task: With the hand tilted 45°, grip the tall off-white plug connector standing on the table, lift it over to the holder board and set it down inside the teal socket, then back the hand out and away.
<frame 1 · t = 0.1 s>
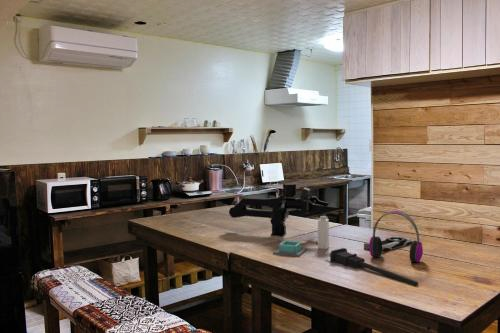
hand: (326, 205, 210), 17 cm above the table, tool horizontal, fingers open, 9 cm apart
holder board: (290, 251, 188), on the table
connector: (323, 247, 194), on the table
headphones: (395, 260, 174), on the table
graphics card: (389, 248, 194), on the table
electrical plug: (368, 271, 161), on the table
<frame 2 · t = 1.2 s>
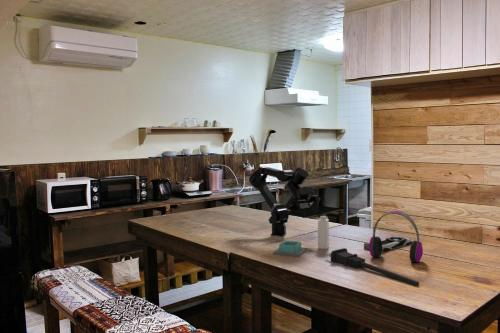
hand: (311, 216, 200), 13 cm above the table, tool tilted 45°, fingers open, 9 cm apart
nothing on the table moved.
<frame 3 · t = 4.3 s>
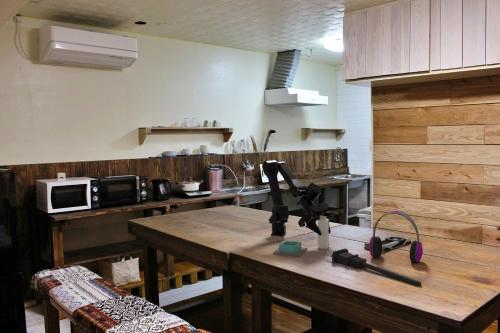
hand: (325, 233, 193), 7 cm above the table, tool tilted 45°, fingers closed on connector, 5 cm apart
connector: (323, 247, 194), on the table, touching gripper
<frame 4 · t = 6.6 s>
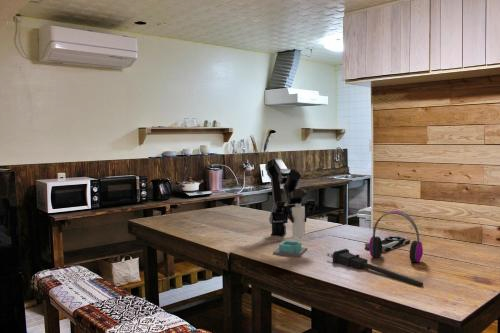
hand: (299, 222, 187), 13 cm above the table, tool tilted 45°, fingers closed on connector, 5 cm apart
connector: (298, 236, 188), point 7 cm above the table, touching gripper
when the fingers open (8 cm above the table, at t = 9.0 s): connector drops 1 cm, resting on holder board.
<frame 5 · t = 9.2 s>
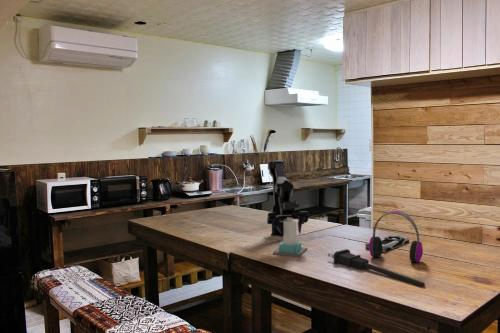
hand: (290, 233, 186), 9 cm above the table, tool tilted 45°, fingers open, 8 cm apart
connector: (290, 249, 188), point 1 cm above the table, touching holder board
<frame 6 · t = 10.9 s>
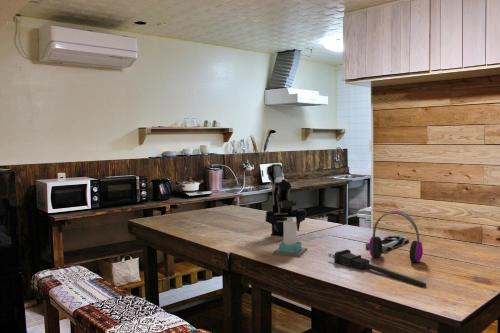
hand: (288, 231, 192), 8 cm above the table, tool tilted 45°, fingers open, 9 cm apart
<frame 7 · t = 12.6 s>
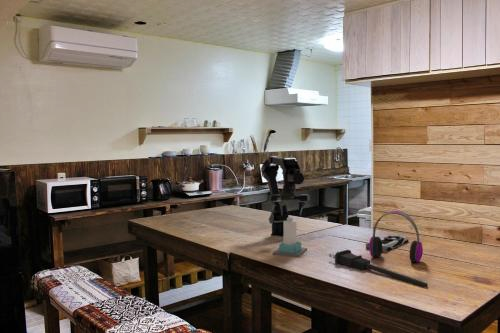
hand: (290, 215, 206), 13 cm above the table, tool pointing down, fingers open, 9 cm apart
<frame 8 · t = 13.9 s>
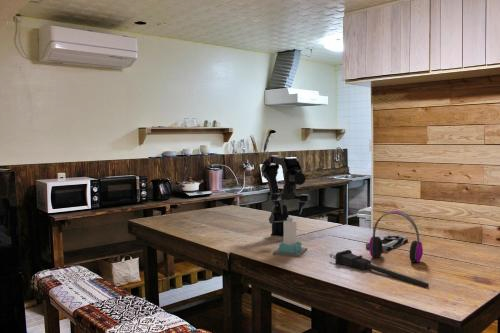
hand: (290, 214, 207), 13 cm above the table, tool pointing down, fingers open, 9 cm apart
at the end: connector 0.1 cm off-centre on the holder board, point 0.8 cm above the holder board's base; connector tilted 0°; the gripper is holding nothing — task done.
